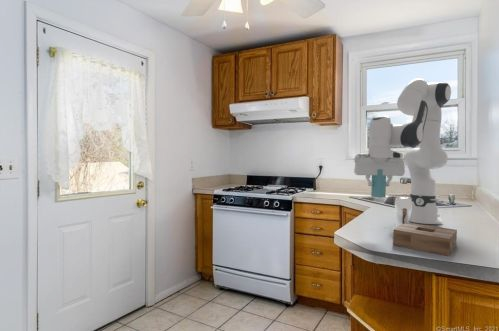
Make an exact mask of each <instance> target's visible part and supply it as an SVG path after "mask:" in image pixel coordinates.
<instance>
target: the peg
mask: <svg viewBox="0 0 499 331" xmlns="http://www.w3.org/2000/svg"><path fill="white" fill-rule="evenodd" d="M371 182H373V186H371V193H370V194H371V196H370V197H371V198H377V199H378V198H379V199H381V198H386V197H387V196H386V192H387V188H386V187H387V186H386V182H387V176H383V169H377V176H375V175H371Z"/></svg>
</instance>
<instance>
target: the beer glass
mask: <svg viewBox="0 0 499 331" xmlns="http://www.w3.org/2000/svg"><path fill="white" fill-rule="evenodd" d="M411 211H412V198H410V197H407V196H406V197H405V196H396V197H395V202H394V214H395V220H396V221H395V222H396V223H395V228H397V227H399V226H400V225H402V224H404V223H406V222H407V223H410V216H411ZM395 228H394V229H395Z"/></svg>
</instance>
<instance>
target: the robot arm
mask: <svg viewBox="0 0 499 331" xmlns="http://www.w3.org/2000/svg"><path fill="white" fill-rule="evenodd" d="M451 96H452V88H451V86H450V84H449V83H447V82H429V83H428V82H427V80H425V79H422V78H415V79H413V80H411V81H410V82H409V83H407V85H406V86H405V87H404V88H403V90H402V91H401V93H400V94H399V97H398V98H397V102H396V105H397V108H398V110H399V111H400V112H401V113H403V114H404V115H406V116H412V121H411V122H408V123H405V124H393V123H392V122H391V117H390V116H388V115H382V116H375V117H372V118H371V119H370V122H369V127H368V128H369V129H368V139H369V144H368V153H358V154H356V155H355V157H354V168H353V169H354V170H353V171H354V174H355V176H365V180H366V182H367V186H368V187H372V186H373V182H372V180H371V176H372V175H375V176H377V169H383V176H386V187H390V182H391V181H393V177H395V176H396V177H403V176H404V175H405V172H406V171H405V170H406V169H405V168H406V167H405V165H406V166H407V168H408V171H409V172H408V173H409V175H410V193H409V198H412V211H411V216H410V221H409V223H414V224H421V225H443V221H442V220H443V219H442V218H441V217H440V214H439V207H438V205H437V204H436V202H437V197H436V180H435V178H434V177H433V176H432V174H431V171H430V170H436V169H441V168H443V167H445V166H446V164H447V162H448V160H449V159H448V155H447V152H446V151H445V150H444V149H443V147H442V144H441V138H440V136H441V134H440V133H441V125H442V115H443V114H442V108H443V106H444V105H445V104H447V103H448V102H449V100H450V99H451ZM418 146H419V147H418ZM404 147H405V148H411V149H409V150H407V151H406V152H405V153H404V154H403V153H401V152H398V151H395V150H393V149H392V148H404Z"/></svg>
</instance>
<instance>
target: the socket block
mask: <svg viewBox="0 0 499 331" xmlns="http://www.w3.org/2000/svg"><path fill="white" fill-rule="evenodd" d="M392 233H393V234H392V236H393V237H392V238H393V239H392V245H393V246H395V245H396V246H397V247H401V248H407V249H412V250H415V251H416V250H417V251H421V252H426V253H432V254H436V255H442V256H447V257H450V255H451V254H452V252H453V251H454V249H455V248H456V246H457V238H458V236H457V234H458V229H454V228H447V227H442V226H441V227H440V226H434V225H429V224H422V223H415V222H409V223H407V222H406V223H404V224H402V225H400V226H399V227H397V228H394V229H393V232H392ZM396 246H395V247H396Z"/></svg>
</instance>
